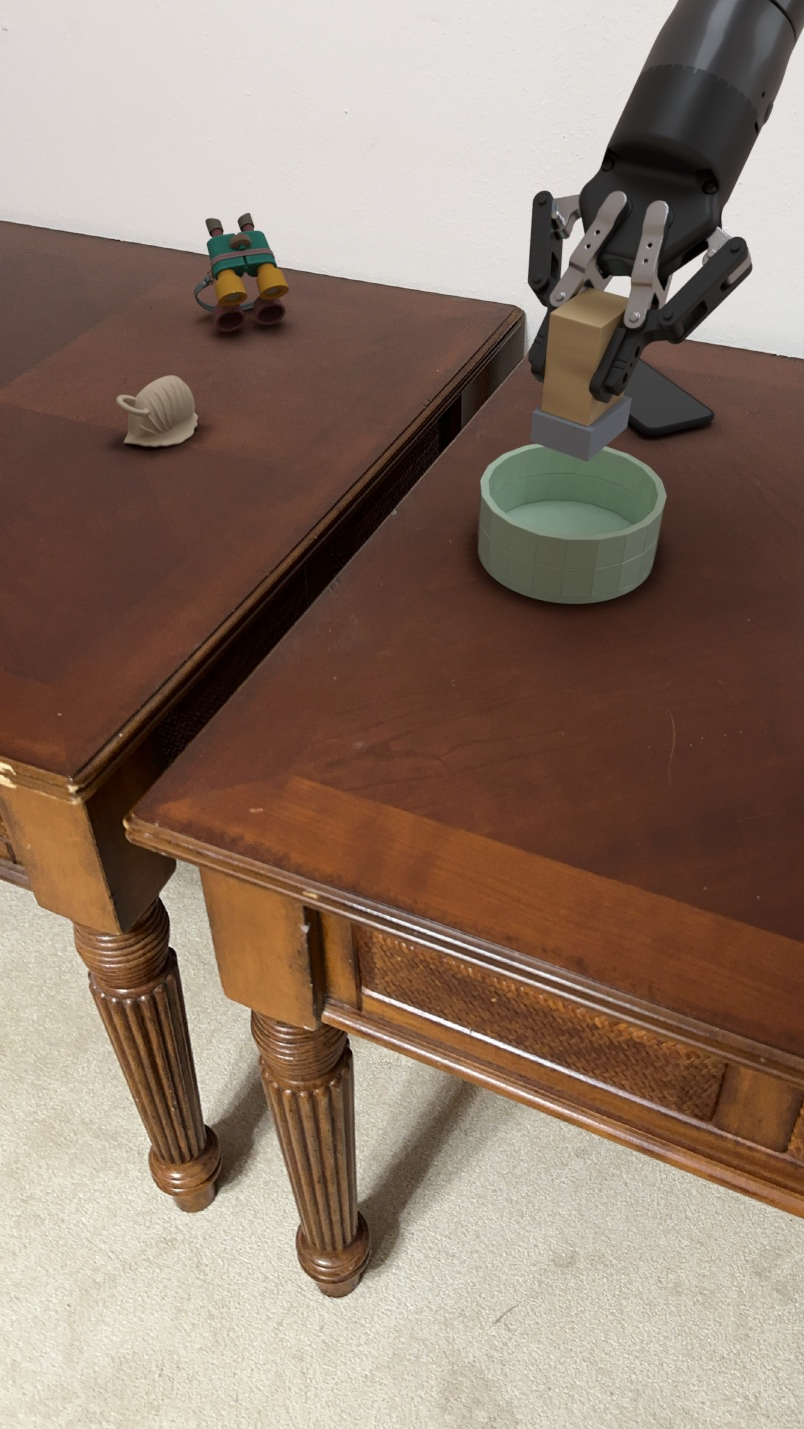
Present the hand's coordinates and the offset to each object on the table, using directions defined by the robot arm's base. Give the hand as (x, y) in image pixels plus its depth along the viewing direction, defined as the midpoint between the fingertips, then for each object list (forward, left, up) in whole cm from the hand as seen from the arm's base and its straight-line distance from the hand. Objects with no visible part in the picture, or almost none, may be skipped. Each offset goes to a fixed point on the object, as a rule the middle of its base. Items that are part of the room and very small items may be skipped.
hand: (569, 386), depth 63 cm
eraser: (-1, -2, -4) cm, 4 cm away
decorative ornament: (+38, -16, -18) cm, 45 cm away
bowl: (+1, -10, -18) cm, 21 cm away
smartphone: (0, -36, -18) cm, 41 cm away
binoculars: (+40, -39, -18) cm, 59 cm away
